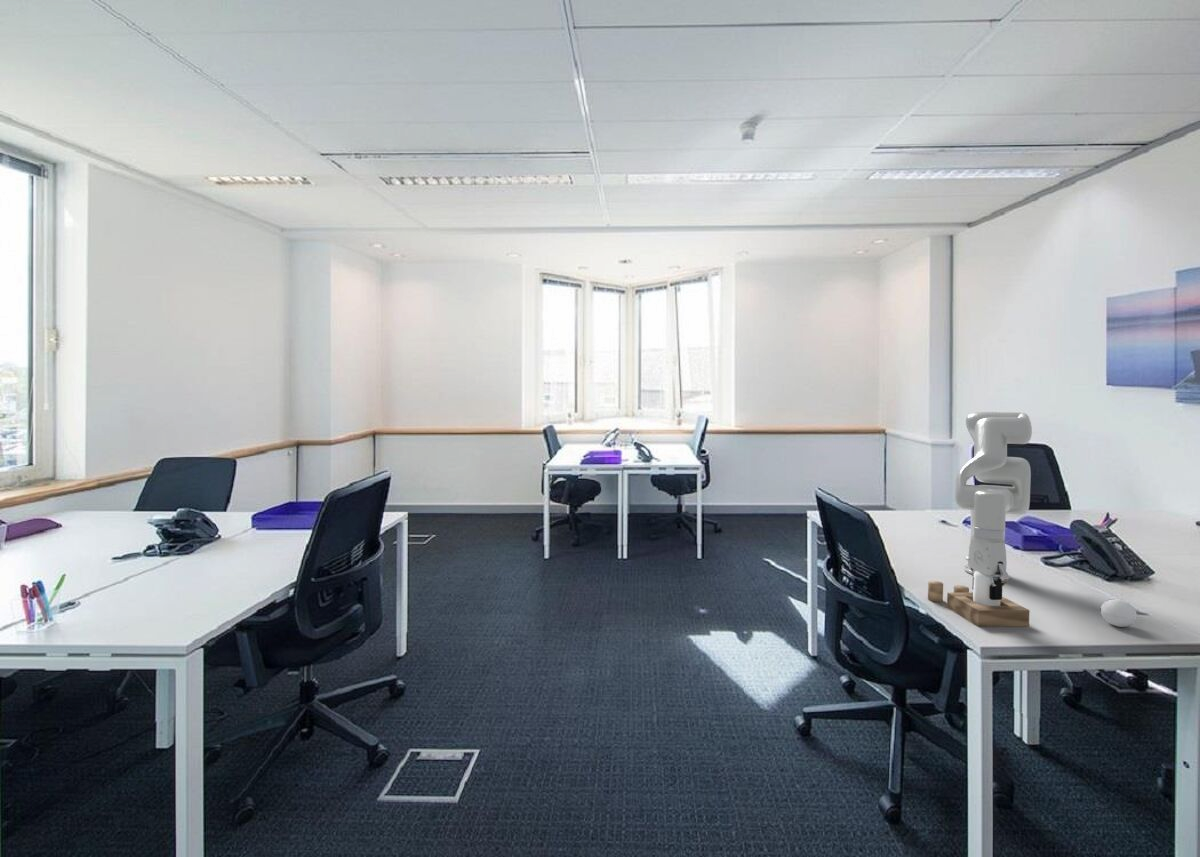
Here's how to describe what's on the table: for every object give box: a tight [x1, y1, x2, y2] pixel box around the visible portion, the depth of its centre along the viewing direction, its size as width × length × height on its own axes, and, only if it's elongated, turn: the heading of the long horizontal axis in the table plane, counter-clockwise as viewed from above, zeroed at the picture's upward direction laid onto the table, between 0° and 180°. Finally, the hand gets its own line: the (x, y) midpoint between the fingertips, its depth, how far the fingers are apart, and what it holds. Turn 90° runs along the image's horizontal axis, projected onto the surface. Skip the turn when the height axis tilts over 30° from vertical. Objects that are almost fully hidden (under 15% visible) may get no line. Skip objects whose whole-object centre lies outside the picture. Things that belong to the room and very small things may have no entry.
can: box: [972, 570, 1000, 606], centre depth 160 cm, size 6×6×12 cm
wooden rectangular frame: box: [946, 591, 1031, 627], centre depth 161 cm, size 14×14×4 cm
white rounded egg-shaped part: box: [1100, 598, 1138, 628], centre depth 153 cm, size 10×7×7 cm
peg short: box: [953, 584, 970, 593], centre depth 174 cm, size 4×4×4 cm
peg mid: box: [927, 580, 944, 603], centre depth 174 cm, size 4×4×6 cm
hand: (986, 594), depth 160 cm, fingers closed on can, 6 cm apart
